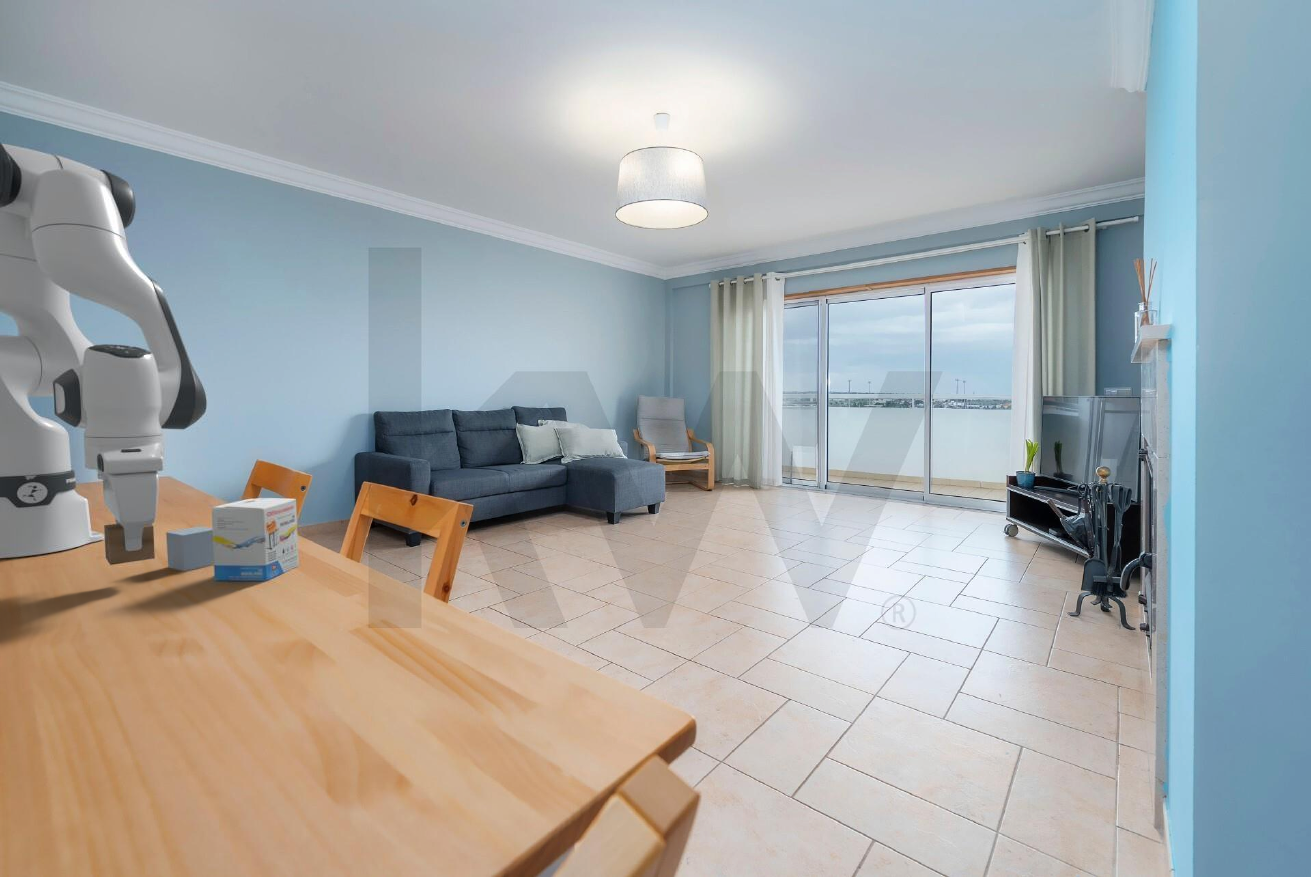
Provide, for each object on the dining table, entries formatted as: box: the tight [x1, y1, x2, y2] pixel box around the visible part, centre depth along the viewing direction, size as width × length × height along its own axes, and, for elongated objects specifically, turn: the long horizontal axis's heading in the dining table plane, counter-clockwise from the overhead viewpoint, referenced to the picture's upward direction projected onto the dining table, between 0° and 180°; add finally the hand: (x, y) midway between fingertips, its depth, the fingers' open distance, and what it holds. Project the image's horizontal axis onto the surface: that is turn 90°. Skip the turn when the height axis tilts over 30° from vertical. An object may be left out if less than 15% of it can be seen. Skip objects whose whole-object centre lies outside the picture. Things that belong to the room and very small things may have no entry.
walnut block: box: [103, 523, 156, 566], centre depth 90 cm, size 5×5×5 cm
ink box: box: [211, 497, 300, 582], centre depth 96 cm, size 9×8×12 cm
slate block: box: [166, 525, 214, 572], centre depth 100 cm, size 5×5×6 cm
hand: (129, 545), depth 90 cm, fingers closed on walnut block, 5 cm apart
